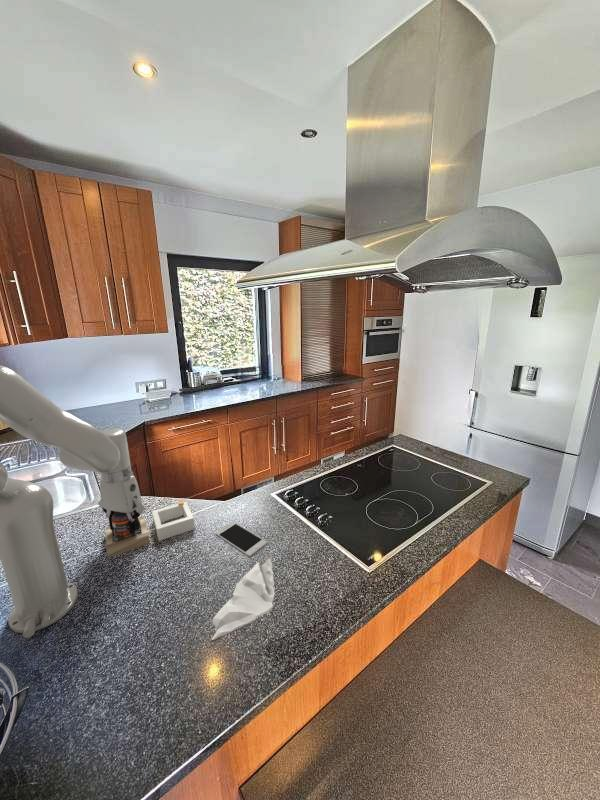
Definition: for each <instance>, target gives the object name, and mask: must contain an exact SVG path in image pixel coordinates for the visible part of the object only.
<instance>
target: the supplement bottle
mask: <svg viewBox="0 0 600 800" xmlns="http://www.w3.org/2000/svg"><path fill="white" fill-rule="evenodd" d="M131 513H132V515H134V512H133V511H132V512H131ZM129 521H130V520H129V518H128V516H127V514H126V513H123V512H117V511H114V514H113V516H112V525H113V532H114V537H113V539H114V543H115V542H118V541H122V540H125V539H128V538H131V537H134V536H138V530H136V531H135V532H134V533H133V534H131V533H130V531H129V525H128V522H129Z"/></svg>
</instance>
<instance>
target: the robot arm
mask: <svg viewBox="0 0 600 800" xmlns="http://www.w3.org/2000/svg"><path fill="white" fill-rule="evenodd" d="M0 422H1V423H3V424H4V425H6V426H8V427H9V428H10V429H12V430H13V431H14V432H16V433H18V434H19V435H21V436H22V437H24V438H25V439H28V440H31V441H33V442H36V443H38V444H41V445H44V446H49V447H52V448H55V449H57V450H58V449H59V451H58V459H59V462H60V463H61V464H62V465H63V466H66V467H68V468H70V469H74V470H79V471H80V470H81V471H87V472H92V473H98V474H100V475H99V476H100V480H99V481H100V482H99V494H100V500H99V501H98V502H97V505H98V506H99V507H100V508H101V509H102V511H103V512H104V513H105V516H106V518H108V523H109V524H108V525H109V526H110V530H113V525H112V516H113V514H114V511H117V512H123V513H126V514H127V516H128V518H129V520H130V521H129V522H128V525H129V531H130V533H131V534H133V533H134V532H135V531H136V530H137V529H138V528H139V521H138V518H140V516H142V514H143V513H144V512H145V511H146V510H147V508H146V507H145V505H143V504H142V496H141V491H140V488H139V484H138V481H137V479H136V477H135V475H134V471H133V470H132V465H131V459H130V453H129V444H128V439H127V433H126V431H124V430H123V429H121V428H110V429H105V430H102V431H101V430H100V429H98V428H96V427H95V426H93V425H91V424H89V423H88V422H86V421H84V420H82V419H80V418H78V417H77V416H75V415H73V414H71V413H70V412H68V411H66V410H63V409H62V408H61V407H59V406H58V405H56V404H55V403H54V402H52V401H51V400H50V399H49V398H47V397H46V396H45V395H44V394H43V393H41V391H39V390H38V389H37V388H36V387H34V386H33V385H32V384H31V383H29V382H28V381H27V380H26V379H25V378H23V377H22V376H21V375H19V374H18V373H17V372H15V370H13V369H11V368H9V367H7V366H4V365H0ZM132 511H133V512H134V515H132V513H131V512H132ZM138 530H139V529H138ZM138 530H137V531H138ZM0 563H1V566H2V569H3V572H4V574H5V578H6V582H7V585H8V588H9V593H10V596H11V599H12V602H13V606H14V607H13V608H12V609H11V611H10V614H9V616H8V626H9V628H10V629H11V630H12V631H14V632H15V633H19V634H22V637H23V638H25V639H26V638H27V639H28V638H31V637H32V636H34V635H35V632H36V631H39V630H41V629H42V630H43V629H44V628H46V627H49V626H50V625H52V624H54V623H56V622H57V621H59V620H61V618H63V617H64V616H66V614H67V613H69V611H71V609H72V608H73V607H74V605H75V604H76V602H77V601H78V597H79V590H78V587H77V586H76V584H74V583H72V582H70V581H68V579H67V576H66V572H65V569H64V568H65V567H64V563H63V559H62V554H61V551H60V546H59V542H58V538H57V534H56V529H55V523H54V498H53V495H52V493H51V492H50V491H49V490H48V489H47V488H46V487H44V486H42V485H41V484H39V483H35V482H32V481H27V480H23V479H17V478H12V477H9V475H8V470H7V468H6V467H5V465H4V464H3V462H2V461H0Z"/></svg>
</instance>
